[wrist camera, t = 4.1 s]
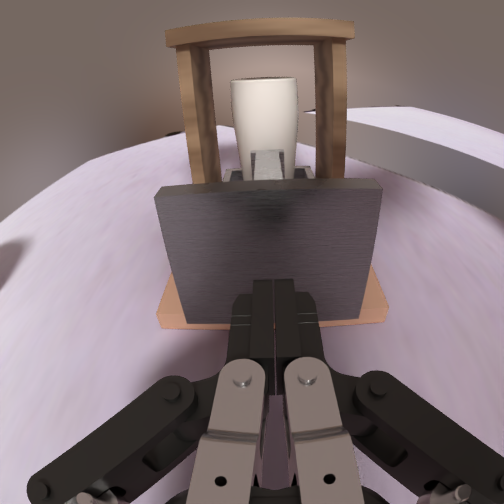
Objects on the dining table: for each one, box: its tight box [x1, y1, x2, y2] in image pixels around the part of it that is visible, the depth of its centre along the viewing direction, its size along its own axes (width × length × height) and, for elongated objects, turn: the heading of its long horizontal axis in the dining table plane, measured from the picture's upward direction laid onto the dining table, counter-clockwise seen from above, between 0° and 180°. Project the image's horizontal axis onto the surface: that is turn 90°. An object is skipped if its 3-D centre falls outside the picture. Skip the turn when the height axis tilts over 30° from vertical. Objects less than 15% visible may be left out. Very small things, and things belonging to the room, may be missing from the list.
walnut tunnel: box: [165, 18, 355, 184], centre depth 30 cm, size 12×16×21 cm
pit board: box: [156, 265, 389, 330], centre depth 25 cm, size 12×16×2 cm
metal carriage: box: [154, 149, 383, 324], centre depth 26 cm, size 26×11×11 cm, turn 178°
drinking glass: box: [230, 77, 298, 181], centre depth 31 cm, size 7×7×15 cm
